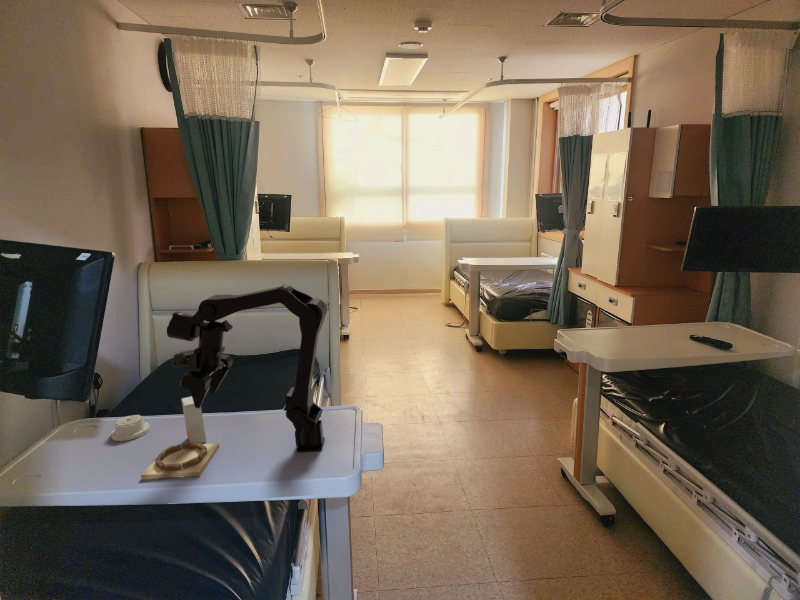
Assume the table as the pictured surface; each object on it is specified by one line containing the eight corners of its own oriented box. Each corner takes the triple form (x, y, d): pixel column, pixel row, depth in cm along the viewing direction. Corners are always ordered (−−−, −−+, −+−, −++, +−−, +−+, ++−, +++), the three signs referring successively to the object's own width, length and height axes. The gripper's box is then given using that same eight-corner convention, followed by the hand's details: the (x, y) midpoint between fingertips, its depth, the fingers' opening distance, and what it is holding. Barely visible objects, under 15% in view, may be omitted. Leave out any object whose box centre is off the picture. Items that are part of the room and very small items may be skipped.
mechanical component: (103, 441, 141) (133, 443, 139) (100, 427, 140) (131, 428, 138) (128, 425, 151) (157, 426, 149) (126, 411, 150) (155, 413, 148)
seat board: (219, 447, 133) (218, 439, 133) (199, 476, 120) (198, 467, 119) (167, 450, 133) (166, 442, 133) (141, 479, 119) (140, 470, 119)
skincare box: (187, 438, 140) (180, 398, 137) (203, 433, 142) (197, 394, 139) (190, 446, 134) (183, 405, 132) (206, 442, 137) (200, 401, 134)
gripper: (196, 328, 136) (191, 381, 139) (160, 350, 118) (156, 410, 121) (235, 336, 136) (230, 388, 139) (206, 358, 118) (201, 418, 121)
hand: (205, 400), depth 130 cm, fingers open, 9 cm apart
